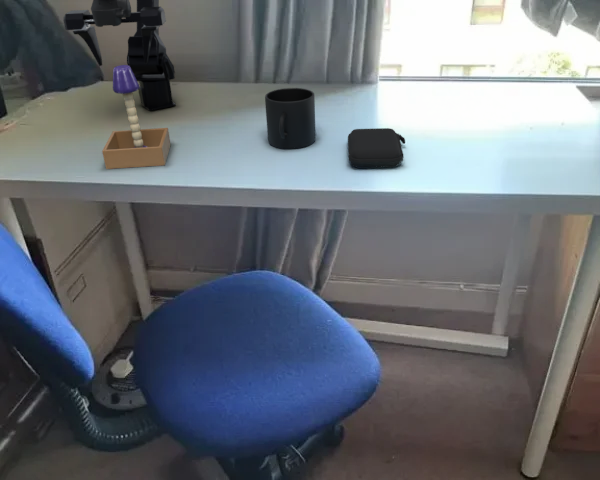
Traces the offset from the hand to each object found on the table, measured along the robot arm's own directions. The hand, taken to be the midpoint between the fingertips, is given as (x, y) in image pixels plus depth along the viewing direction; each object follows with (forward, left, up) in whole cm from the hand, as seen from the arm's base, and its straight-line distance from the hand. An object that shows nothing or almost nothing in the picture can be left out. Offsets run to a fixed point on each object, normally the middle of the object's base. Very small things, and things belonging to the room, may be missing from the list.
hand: (123, 64), depth 127 cm
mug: (-22, +28, -13) cm, 38 cm away
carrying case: (-32, +43, -13) cm, 55 cm away
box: (+5, +17, -13) cm, 22 cm away
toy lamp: (+5, +17, -13) cm, 22 cm away
